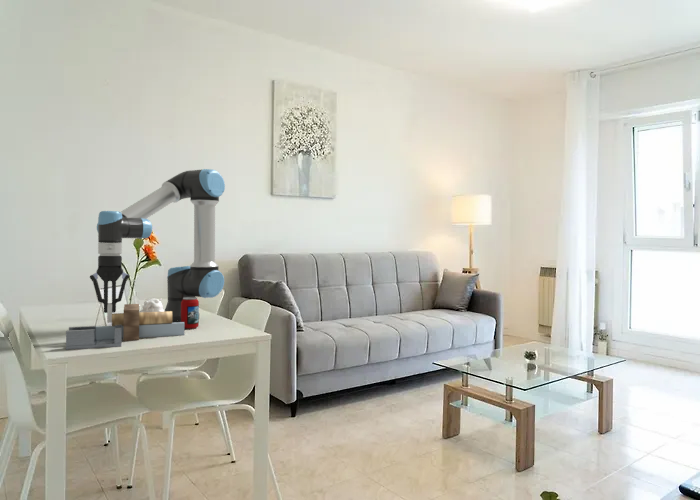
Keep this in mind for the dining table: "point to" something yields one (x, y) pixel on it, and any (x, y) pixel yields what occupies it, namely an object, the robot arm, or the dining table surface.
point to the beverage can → (190, 312)
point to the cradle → (90, 338)
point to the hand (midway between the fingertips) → (109, 321)
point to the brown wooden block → (131, 322)
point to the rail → (143, 330)
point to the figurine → (152, 305)
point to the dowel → (145, 318)
